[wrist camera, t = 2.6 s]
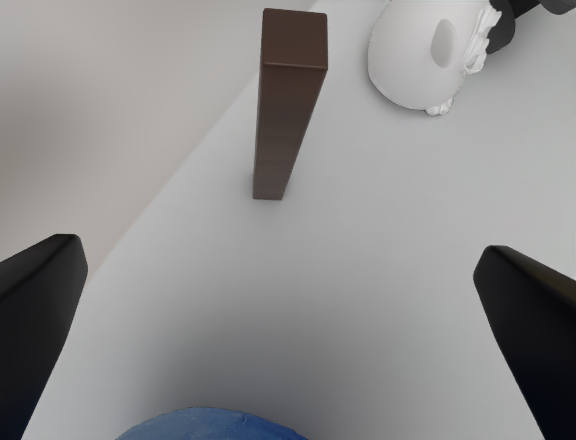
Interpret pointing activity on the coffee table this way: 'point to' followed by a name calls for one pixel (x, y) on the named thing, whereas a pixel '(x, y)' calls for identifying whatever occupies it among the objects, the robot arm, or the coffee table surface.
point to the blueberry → (209, 427)
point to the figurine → (428, 50)
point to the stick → (286, 93)
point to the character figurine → (513, 5)
